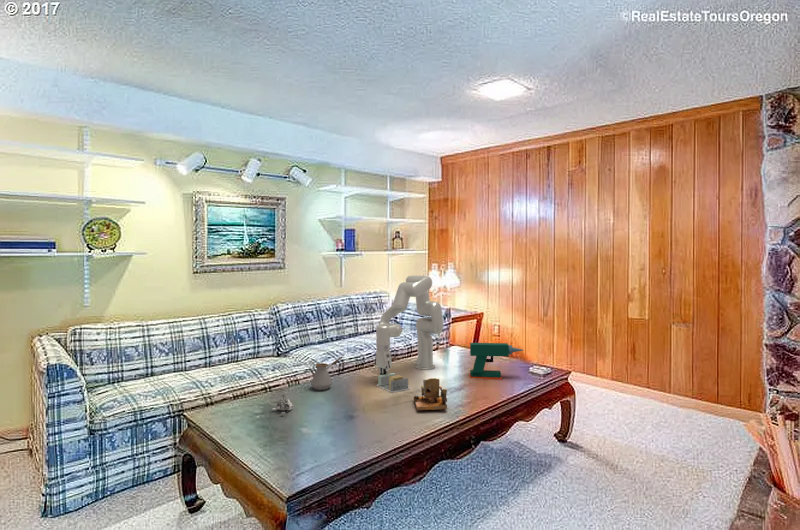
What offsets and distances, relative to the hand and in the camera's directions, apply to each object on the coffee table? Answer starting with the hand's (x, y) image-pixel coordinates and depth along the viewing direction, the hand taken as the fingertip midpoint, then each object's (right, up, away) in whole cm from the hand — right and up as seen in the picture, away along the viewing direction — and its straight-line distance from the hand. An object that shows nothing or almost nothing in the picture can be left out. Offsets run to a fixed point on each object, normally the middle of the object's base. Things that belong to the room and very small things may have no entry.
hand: (383, 380), depth 254 cm
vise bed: (+5, -2, -8) cm, 10 cm away
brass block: (+7, -2, -10) cm, 12 cm away
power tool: (+66, -2, +12) cm, 67 cm away
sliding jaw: (+2, -1, -3) cm, 4 cm away
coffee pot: (-30, -3, -4) cm, 30 cm away
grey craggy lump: (-47, -4, -42) cm, 63 cm away
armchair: (+24, -3, -35) cm, 43 cm away
